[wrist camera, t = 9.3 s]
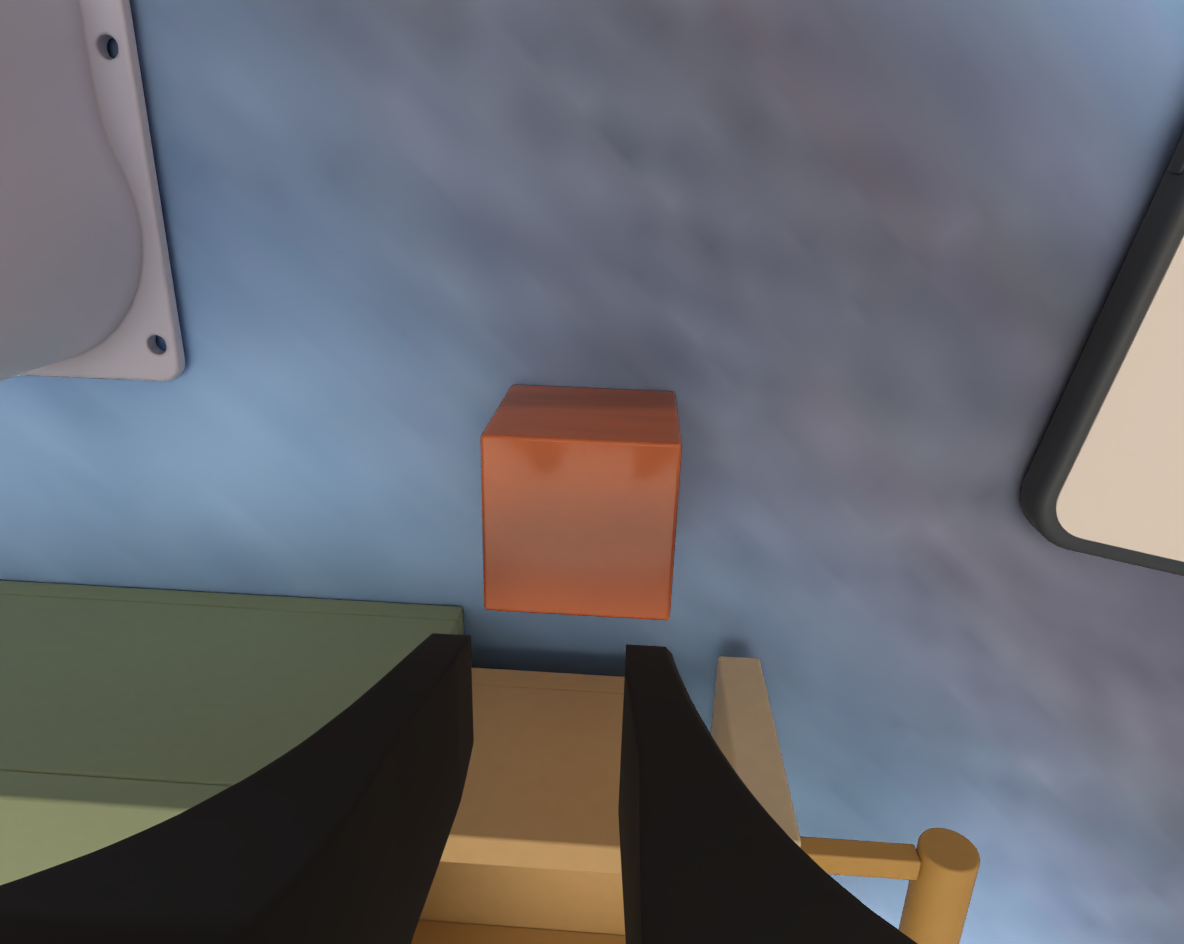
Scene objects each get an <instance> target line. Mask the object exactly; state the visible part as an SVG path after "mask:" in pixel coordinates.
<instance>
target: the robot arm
mask: <svg viewBox="0 0 1184 944" xmlns="http://www.w3.org/2000/svg"><path fill="white" fill-rule="evenodd" d="M112 37H113V38H114V39H115V40H116V42H117V44H118V47H119V49H118V55H117V56H116V57H115V59H112V58H111V57H110V56H109V53H108V51H107V42H108V41H109V40H110V38H112ZM157 335H158V336H161V337H162V338H163V339H164V340H165V342H166V345H167V348H166V351H163V350H161V349H160V348H159V347H158V346H157V344H156V336H157ZM184 369H185V357H184V350H183V344H182V337H181V331H180V324H179V318H178V311H177V305H176V298H175V292H174V285H173V279H172V273H171V266H170V260H169V253H168V247H167V240H166V234H165V227H164V221H163V214H162V208H161V201H160V195H159V188H158V182H157V175H156V169H155V162H154V156H153V149H152V143H151V137H150V130H149V124H148V117H147V111H146V104H145V98H144V91H143V85H142V78H141V72H140V65H139V59H138V52H137V46H136V39H135V33H134V26H133V20H132V13H131V7H130V1H129V0H0V381H2V380H5V379H8V378H11V377H14V376H17V375H30V376H53V377H76V378H99V379H121V380H144V381H169V380H172V379H175V378H177V377H178V376H180V375H181V374H182V373H183V371H184ZM473 743H474V733H473V700H472V667H471V635H455V634H438V633H432V634H431V635H430V636H429V637H428V638H426V639H425V640H424V641H423V642H422V643H421V644H419V645H418V646H417V647H416V648H415V649H414V650H413V651H412V652H410V653H409V654H408V655H407V656H406V657H405V658H404V659H403V660H402V661H401V662H399V663H398V664H397V665H396V666H395V667H394V668H393V669H392V670H391V671H389V672H388V673H387V674H386V675H385V676H384V677H383V678H382V679H381V680H379V681H378V682H377V683H376V684H375V685H374V686H372V687H371V688H370V689H369V690H368V691H367V692H365V693H364V694H363V695H362V696H361V697H360V698H358V699H357V700H356V701H355V702H354V703H353V704H351V705H350V706H349V707H348V708H346V709H345V710H344V711H342V712H341V713H340V714H339V715H337V716H336V717H335V718H333V719H332V720H331V721H330V722H328V723H327V724H326V725H324V726H323V727H322V728H320V729H319V730H318V731H317V732H315V733H314V734H313V735H311V736H310V737H309V738H307V739H306V740H304V741H303V742H302V743H300V744H299V745H297V746H296V747H294V748H293V749H291V750H290V751H288V752H287V753H285V754H284V755H282V756H281V757H279V758H278V759H276V760H274V761H273V762H271V763H270V764H268V765H267V766H265V767H263V768H262V769H260V770H259V771H257V772H255V773H254V774H252V775H250V776H249V777H247V778H245V779H244V780H242V781H240V782H238V783H236V784H234V785H233V786H231V787H229V788H227V789H225V790H223V791H221V792H220V793H218V794H216V795H214V796H212V797H210V798H208V799H207V800H205V801H203V802H201V803H199V804H197V805H195V806H194V807H192V808H190V809H188V810H186V811H184V812H182V813H180V814H178V815H176V816H174V817H172V818H170V819H168V820H165V821H163V822H161V823H159V824H157V825H155V826H153V827H150V828H148V829H146V830H144V831H142V832H139V833H137V834H135V835H132V836H130V837H128V838H125V839H123V840H121V841H118V842H116V843H114V844H111V845H109V846H107V847H104V848H102V849H99V850H97V851H94V852H92V853H89V854H87V855H84V856H81V857H78V858H76V859H73V860H70V861H67V862H65V863H62V864H59V865H56V866H54V867H51V868H48V869H45V870H43V871H40V872H37V873H34V874H32V875H29V876H26V877H23V878H21V879H18V880H15V881H12V882H9V883H6V884H3V885H0V944H411V943H412V940H413V936H414V933H415V930H416V927H417V925H418V922H419V919H420V916H421V913H422V910H423V908H424V905H425V902H426V899H427V896H428V894H429V891H430V888H431V885H432V882H433V879H434V877H435V874H436V871H437V868H438V865H439V862H440V860H441V857H442V854H443V851H444V848H445V846H446V843H447V840H448V837H449V834H450V831H451V828H452V825H453V823H454V820H455V817H456V814H457V811H458V808H459V805H460V802H461V798H462V794H463V790H464V785H465V781H466V776H467V772H468V767H469V762H470V758H471V753H472V748H473ZM618 817H619V835H620V853H621V871H622V888H623V906H624V923H625V940H626V944H918V943H916V942H915V941H913V940H912V939H911V938H909V937H908V936H906V935H905V934H904V933H902V932H901V931H899V930H898V929H897V928H895V927H894V926H892V925H891V924H890V923H888V922H887V921H885V920H884V919H883V918H881V917H880V916H878V915H877V914H876V913H874V912H873V911H872V910H870V909H869V908H868V907H867V906H865V905H864V904H863V903H862V902H861V901H859V900H858V899H857V898H856V897H855V896H853V895H852V894H851V893H850V892H848V891H847V890H846V889H845V888H844V887H842V886H841V885H840V884H839V883H838V882H836V881H835V880H834V879H833V878H832V877H831V876H830V875H828V874H827V873H826V872H825V871H824V870H823V869H822V868H821V867H820V866H819V865H818V864H817V863H816V862H815V861H814V860H813V859H812V858H811V857H810V856H809V855H808V854H807V853H805V852H804V851H803V850H802V849H801V848H800V847H799V846H798V845H797V844H796V843H795V842H794V841H793V840H792V839H791V838H790V837H789V836H788V835H787V834H786V832H785V831H784V830H783V829H782V828H781V827H780V826H779V825H778V824H777V822H776V821H775V820H774V819H773V818H772V817H771V816H770V815H769V813H768V812H767V811H766V810H765V809H764V807H763V806H762V805H761V804H760V803H759V801H758V800H757V799H756V798H755V797H754V795H753V794H752V793H751V792H750V790H749V789H748V788H747V786H746V785H745V784H744V782H743V781H742V780H741V778H740V777H739V776H738V774H737V773H736V772H735V770H734V769H733V767H732V766H731V764H730V763H729V761H728V760H727V758H726V757H725V756H724V754H723V753H722V751H721V750H720V748H719V747H718V745H717V743H716V742H715V740H714V739H713V737H712V736H711V734H710V732H709V730H708V729H707V727H706V725H705V723H704V722H703V720H702V718H701V717H700V715H699V713H698V711H697V710H696V708H695V706H694V704H693V702H692V700H691V698H690V696H689V694H688V692H687V690H686V688H685V686H684V684H683V682H682V680H681V677H680V675H679V673H678V670H677V668H676V665H675V662H674V659H673V656H672V653H671V652H670V651H669V650H668V649H667V648H666V647H659V646H642V645H626V659H625V680H624V700H623V720H622V740H621V761H620V783H619V805H618Z"/></svg>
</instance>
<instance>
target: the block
mask: <svg viewBox="0 0 1184 944" xmlns="http://www.w3.org/2000/svg"><path fill="white" fill-rule="evenodd" d="M480 444H481V487H482V531H483V574H484V607H485V609H486V610H495V611H513V612H530V613H548V614H566V615H583V616H601V617H618V618H636V619H653V620H668V619H669V617H670V608H671V594H672V580H673V566H674V552H675V537H676V523H677V509H678V495H679V481H680V467H681V453H682V444H681V435H680V427H679V419H678V411H677V403H676V395H675V392H672V391H649V390H626V389H602V388H579V387H556V386H533V385H512V386H511V387H510V389H509V391H508V392H507V394H506V396H505V397H504V399H503V400H502V402H501V404H500V405H499V407H498V409H497V410H496V412H495V414H494V415H493V417H492V418H491V420H490V422H489V423H488V425H487V427H486V428H485V430H484V432H483V433H482V435H481V437H480Z"/></svg>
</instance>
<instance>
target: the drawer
mask: <svg viewBox="0 0 1184 944" xmlns="http://www.w3.org/2000/svg"><path fill="white" fill-rule="evenodd" d="M624 680H625V677H619V676H603V675H586V674H570V673H553V672H537V671H521V670H504V669H488V668H472V700H473V733H474V743H473V748H472V753H471V758H470V762H469V767H468V772H467V776H466V781H465V785H464V790H463V794H462V798H461V802H460V805H459V808H458V811H457V814H456V817H455V820H454V823H453V825H452V828H451V831H450V834H449V837H448V840H447V843H446V846H445V848H444V851H443V854H442V857H441V860H440V862H439V865H438V868H437V871H436V874H435V877H434V879H433V882H432V885H431V888H430V891H429V894H428V896H427V899H426V902H425V905H424V908H423V910H422V913H421V916H420V919H419V922H418V925H417V927H416V930H415V933H414V936H413V940H412V943H411V944H626V940H625V923H624V906H623V888H622V871H621V853H620V835H619V817H618V805H619V783H620V761H621V740H622V720H623V700H624ZM711 736H712V737H713V739H714V740H715V742H716V743H717V745H718V747H719V748H720V750H721V751H722V753H723V754H724V756H725V757H726V758H727V760H728V761H729V763H730V764H731V766H732V767H733V769H734V770H735V772H736V773H737V774H738V776H739V777H740V778H741V780H742V781H743V782H744V784H745V785H746V786H747V788H748V789H749V790H750V792H751V793H752V794H753V795H754V797H755V798H756V799H757V800H758V801H759V803H760V804H761V805H762V806H763V807H764V809H765V810H766V811H767V812H768V813H769V815H770V816H771V817H772V818H773V819H774V820H775V821H776V822H777V824H778V825H779V826H780V827H781V828H782V829H783V830H784V831H785V832H786V834H787V835H788V836H789V837H790V838H791V839H792V840H793V841H794V842H795V843H796V844H797V845H798V846H799V847H800V848H801V849H802V850H803V851H804V852H805V853H807V854H808V855H809V856H810V857H811V858H812V859H813V860H814V861H815V862H816V863H817V864H818V865H819V866H820V867H821V868H822V869H823V870H824V871H825V872H826V873H827V874H836V875H850V876H863V877H877V878H891V879H905V880H909V884H908V889H907V893H906V898H905V902H904V907H903V911H902V916H901V921H900V925H899V931H901V932H902V933H904V934H905V935H906V936H908V937H909V938H911V939H912V940H913V941H915V942H916V943H918V944H959V942H960V938H961V935H962V931H963V927H964V923H965V919H966V915H967V912H968V908H969V904H970V900H971V896H972V892H973V888H974V885H975V881H976V877H977V873H978V869H979V865H980V856H979V853H978V851H977V849H976V847H975V846H974V845H973V844H972V843H971V842H970V841H969V840H968V839H967V838H965V837H964V836H962V835H961V834H959V833H957V832H955V831H952V830H949V829H944V828H931V829H928V830H926V831H924V832H923V833H922V834H921V835H920V837H919V839H918V844H917V848H915V846H914V845H913V844H900V843H886V842H871V841H857V840H843V839H828V838H814V837H800V835H799V830H798V826H797V822H796V817H795V813H794V808H793V804H792V800H791V795H790V791H789V786H788V782H787V778H786V773H785V769H784V764H783V760H782V755H781V751H780V747H779V742H778V738H777V733H776V729H775V725H774V720H773V716H772V711H771V707H770V702H769V698H768V694H767V689H766V685H765V680H764V676H763V672H762V667H761V663H760V660H759V659H757V658H742V657H725V656H720V657H719V658H718V665H717V675H716V685H715V696H714V706H713V716H712V727H711Z"/></svg>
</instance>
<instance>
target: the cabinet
mask: <svg viewBox="0 0 1184 944" xmlns="http://www.w3.org/2000/svg"><path fill="white" fill-rule="evenodd" d="M432 633H438V634H455V635H464V631H463V609H462V607H456V606H439V605H421V604H404V603H386V602H369V601H351V600H334V599H316V598H298V597H281V596H263V595H246V594H228V593H211V592H193V591H176V590H158V589H140V588H123V587H105V586H88V585H70V584H53V583H35V582H18V581H0V885H3V884H6V883H9V882H12V881H15V880H18V879H21V878H23V877H26V876H29V875H32V874H34V873H37V872H40V871H43V870H45V869H48V868H51V867H54V866H56V865H59V864H62V863H65V862H67V861H70V860H73V859H76V858H78V857H81V856H84V855H87V854H89V853H92V852H94V851H97V850H99V849H102V848H104V847H107V846H109V845H111V844H114V843H116V842H118V841H121V840H123V839H125V838H128V837H130V836H132V835H135V834H137V833H139V832H142V831H144V830H146V829H148V828H150V827H153V826H155V825H157V824H159V823H161V822H163V821H165V820H168V819H170V818H172V817H174V816H176V815H178V814H180V813H182V812H184V811H186V810H188V809H190V808H192V807H194V806H195V805H197V804H199V803H201V802H203V801H205V800H207V799H208V798H210V797H212V796H214V795H216V794H218V793H220V792H221V791H223V790H225V789H227V788H229V787H231V786H233V785H234V784H236V783H238V782H240V781H242V780H244V779H245V778H247V777H249V776H250V775H252V774H254V773H255V772H257V771H259V770H260V769H262V768H263V767H265V766H267V765H268V764H270V763H271V762H273V761H274V760H276V759H278V758H279V757H281V756H282V755H284V754H285V753H287V752H288V751H290V750H291V749H293V748H294V747H296V746H297V745H299V744H300V743H302V742H303V741H304V740H306V739H307V738H309V737H310V736H311V735H313V734H314V733H315V732H317V731H318V730H319V729H320V728H322V727H323V726H324V725H326V724H327V723H328V722H330V721H331V720H332V719H333V718H335V717H336V716H337V715H339V714H340V713H341V712H342V711H344V710H345V709H346V708H348V707H349V706H350V705H351V704H353V703H354V702H355V701H356V700H357V699H358V698H360V697H361V696H362V695H363V694H364V693H365V692H367V691H368V690H369V689H370V688H371V687H372V686H374V685H375V684H376V683H377V682H378V681H379V680H381V679H382V678H383V677H384V676H385V675H386V674H387V673H388V672H389V671H391V670H392V669H393V668H394V667H395V666H396V665H397V664H398V663H399V662H401V661H402V660H403V659H404V658H405V657H406V656H407V655H408V654H409V653H410V652H412V651H413V650H414V649H415V648H416V647H417V646H418V645H419V644H421V643H422V642H423V641H424V640H425V639H426V638H428V637H429V636H430V635H431V634H432Z"/></svg>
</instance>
